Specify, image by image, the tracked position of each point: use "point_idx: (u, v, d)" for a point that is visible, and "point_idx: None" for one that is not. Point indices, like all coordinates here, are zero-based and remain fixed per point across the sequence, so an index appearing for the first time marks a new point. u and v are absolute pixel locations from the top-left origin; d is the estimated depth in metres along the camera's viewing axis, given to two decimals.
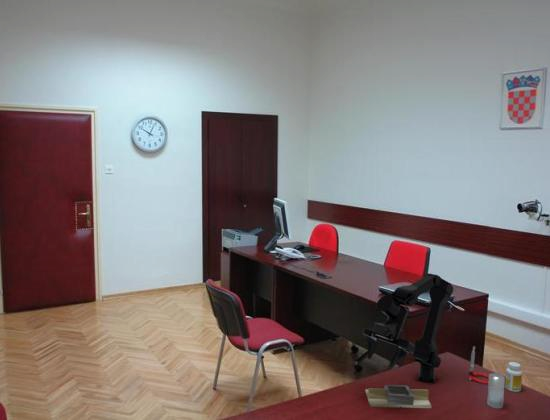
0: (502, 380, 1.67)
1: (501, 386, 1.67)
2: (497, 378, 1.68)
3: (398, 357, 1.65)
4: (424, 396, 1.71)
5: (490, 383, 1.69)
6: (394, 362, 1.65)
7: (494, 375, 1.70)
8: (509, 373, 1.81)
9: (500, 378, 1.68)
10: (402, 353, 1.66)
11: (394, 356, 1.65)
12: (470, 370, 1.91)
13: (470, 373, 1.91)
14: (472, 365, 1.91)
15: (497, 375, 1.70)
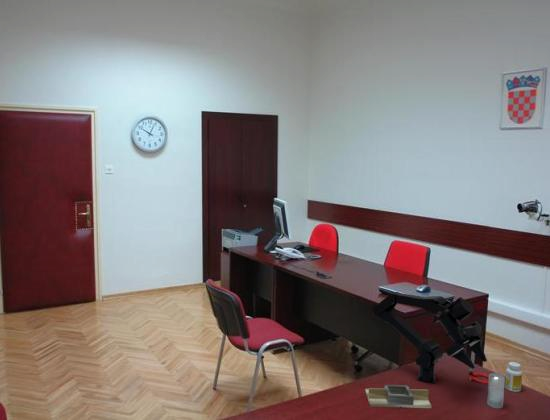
0: (502, 380, 1.67)
1: (501, 386, 1.67)
2: (497, 378, 1.68)
3: None
4: (424, 396, 1.71)
5: (490, 383, 1.69)
6: None
7: (494, 375, 1.70)
8: (509, 373, 1.81)
9: (500, 378, 1.68)
10: None
11: (482, 350, 1.78)
12: (470, 370, 1.91)
13: (470, 373, 1.91)
14: None
15: (497, 375, 1.70)
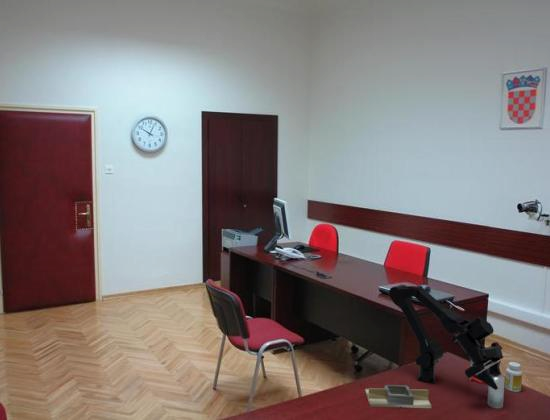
0: (502, 380, 1.67)
1: (501, 386, 1.67)
2: (497, 378, 1.68)
3: None
4: (424, 396, 1.71)
5: None
6: None
7: (494, 375, 1.70)
8: (509, 373, 1.81)
9: (500, 378, 1.68)
10: None
11: (499, 372, 1.72)
12: None
13: None
14: None
15: (497, 375, 1.70)
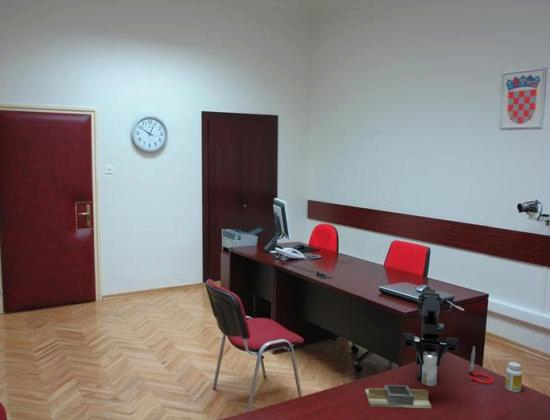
0: (428, 357, 1.68)
1: (426, 362, 1.69)
2: (426, 354, 1.70)
3: None
4: (424, 396, 1.71)
5: None
6: (440, 360, 1.70)
7: (429, 353, 1.71)
8: (509, 373, 1.81)
9: (428, 355, 1.69)
10: None
11: (440, 354, 1.70)
12: (470, 370, 1.91)
13: (470, 373, 1.91)
14: (472, 365, 1.91)
15: (432, 354, 1.70)
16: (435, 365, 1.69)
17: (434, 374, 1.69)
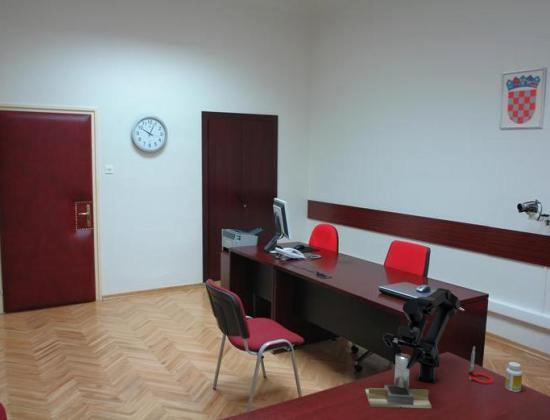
0: (397, 358, 1.71)
1: (396, 363, 1.71)
2: (398, 355, 1.72)
3: (415, 359, 1.71)
4: (424, 396, 1.71)
5: None
6: (411, 364, 1.70)
7: (402, 355, 1.73)
8: (509, 373, 1.81)
9: (398, 356, 1.71)
10: (418, 356, 1.72)
11: (412, 357, 1.70)
12: (470, 370, 1.91)
13: (470, 373, 1.91)
14: (472, 365, 1.91)
15: (405, 356, 1.71)
16: (404, 367, 1.70)
17: (403, 376, 1.70)
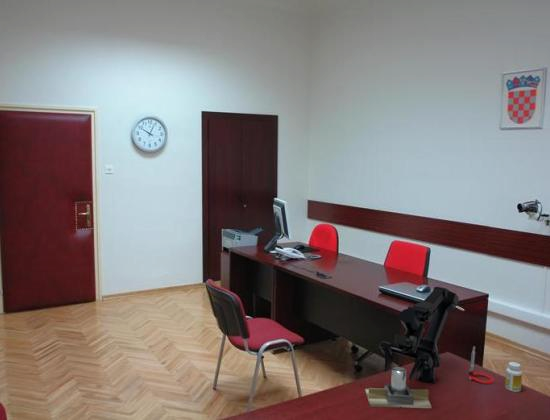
0: (393, 372, 1.70)
1: (392, 377, 1.70)
2: (394, 369, 1.71)
3: (417, 370, 1.68)
4: (424, 396, 1.71)
5: None
6: (413, 374, 1.67)
7: (399, 369, 1.71)
8: (509, 373, 1.81)
9: (394, 370, 1.70)
10: (420, 366, 1.69)
11: (414, 368, 1.67)
12: (470, 370, 1.91)
13: (470, 373, 1.91)
14: (472, 365, 1.91)
15: (401, 370, 1.70)
16: (401, 381, 1.69)
17: (400, 390, 1.69)
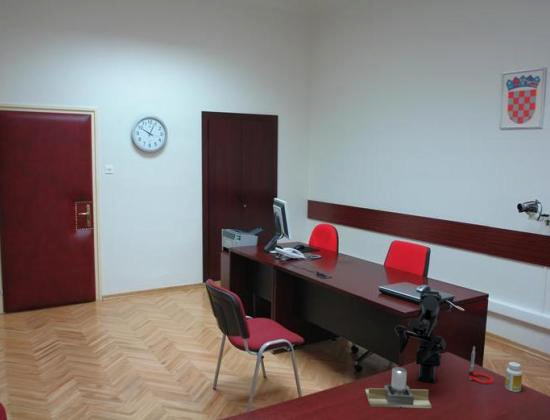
0: (394, 373, 1.69)
1: (393, 377, 1.70)
2: (395, 370, 1.71)
3: (430, 352, 1.75)
4: (424, 396, 1.71)
5: None
6: (426, 356, 1.74)
7: (399, 369, 1.71)
8: (509, 373, 1.81)
9: (395, 371, 1.70)
10: (433, 349, 1.76)
11: (427, 350, 1.74)
12: (470, 370, 1.91)
13: (470, 373, 1.91)
14: (472, 365, 1.91)
15: (401, 370, 1.70)
16: (401, 382, 1.68)
17: (400, 391, 1.69)
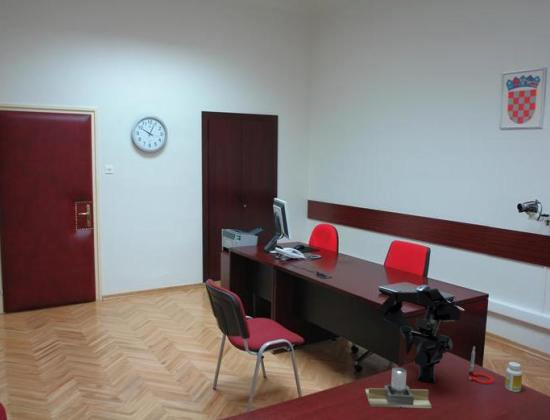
0: (393, 373, 1.69)
1: (393, 378, 1.70)
2: (395, 370, 1.71)
3: (437, 352, 1.75)
4: (424, 396, 1.71)
5: None
6: (434, 356, 1.74)
7: (399, 369, 1.71)
8: (509, 373, 1.81)
9: (395, 371, 1.70)
10: (440, 349, 1.76)
11: (434, 350, 1.74)
12: (470, 370, 1.91)
13: (470, 373, 1.91)
14: (472, 365, 1.91)
15: (401, 371, 1.70)
16: (401, 382, 1.68)
17: (400, 391, 1.69)
